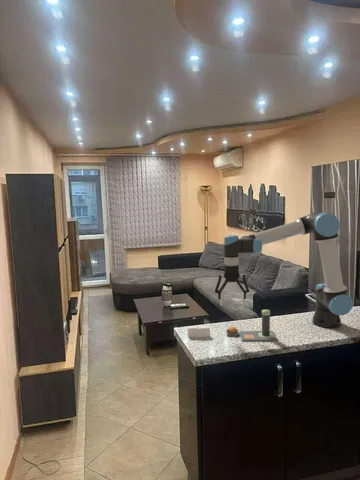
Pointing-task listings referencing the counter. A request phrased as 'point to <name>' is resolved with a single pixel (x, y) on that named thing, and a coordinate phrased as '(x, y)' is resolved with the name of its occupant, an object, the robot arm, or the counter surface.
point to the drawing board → (257, 336)
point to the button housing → (232, 333)
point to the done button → (232, 329)
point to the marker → (266, 322)
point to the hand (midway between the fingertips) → (232, 305)
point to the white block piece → (199, 331)
